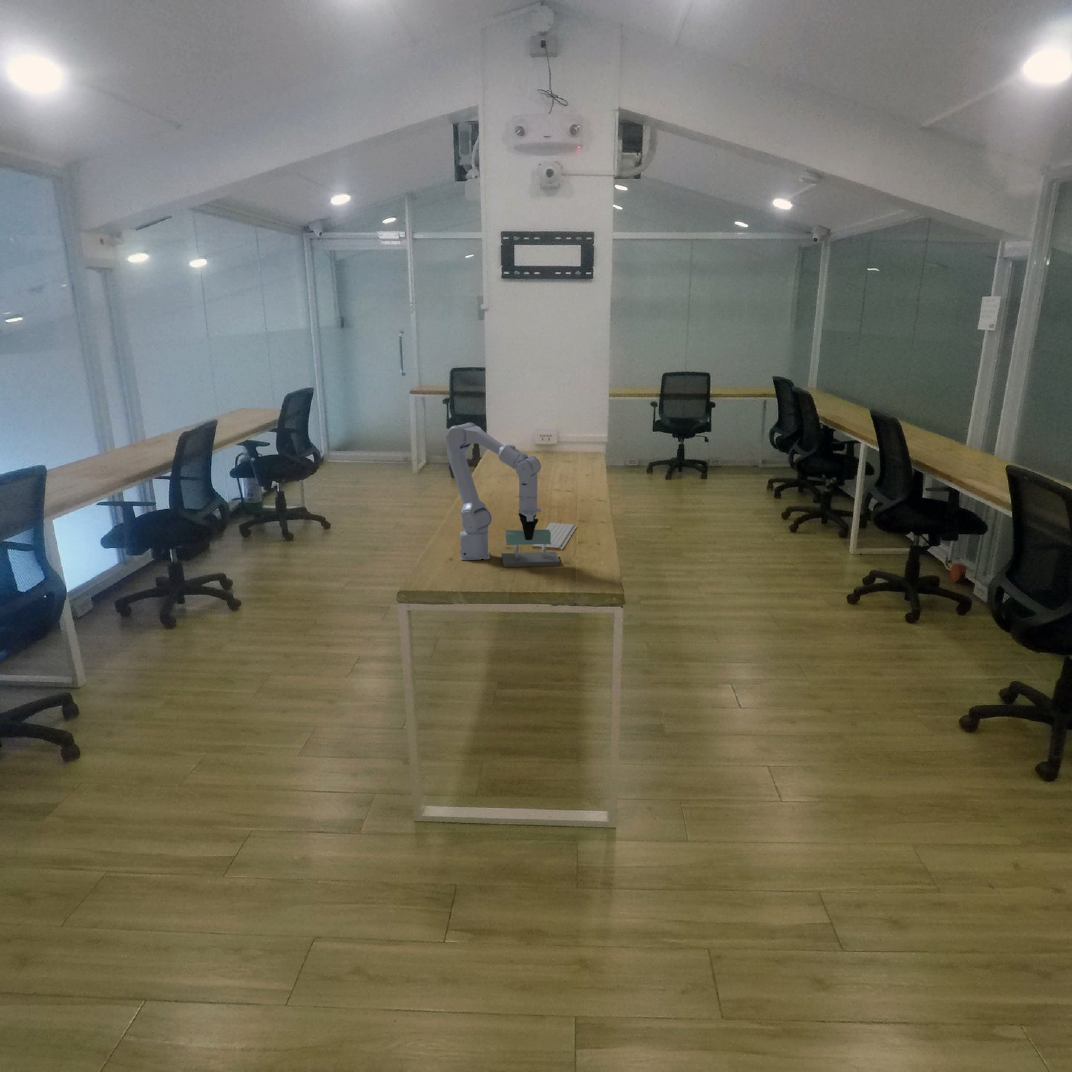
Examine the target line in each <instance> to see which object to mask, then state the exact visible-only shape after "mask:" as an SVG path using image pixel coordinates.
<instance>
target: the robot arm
mask: <svg viewBox="0 0 1072 1072" xmlns="http://www.w3.org/2000/svg"><path fill="white" fill-rule="evenodd" d="M445 440H446V443H447V445H446V456H447V458H448V461H449V465H450V467H451V471H452V473H453V474H452V475H453V478H454V480H455V483H456V486H457V490H458V492H459V495H460V498H461V501H462V508H461V511H460V515H461V526H462V528H463V530H462V531H460V533H459V535H460V537H459V539H460V547H459V554H460V560H461V561H475V560H476V561H478V560H479V561H480V560H481V559H484V560H490V559H491V556H490V551H489V525H491V523H492V518H493V517H492V514H491V512H490V511H489V510H488V508H487V507H486V503H484V502H483V501H481V500H480V497H479V494H478V492H477V489H476V485H475V482H474V478H473V476H472V473H471V469H470V467H469V463H468V460H467V458H466V453H467V451H468V449H469V448H470V446H471V445H472V444H473V445H474V444H478V445H479V446H482V447H483V448H485V449H487V450H489V451H491V452H492V453H494V454H496V455H497V457H498V459H499V461H501V462H502V463H504V464H505V465H507V466H508V467H510V468H512V469H513V470H515V472H516V475H517V476H518V486H519V487H518V488H519V489H518V505H519V506H518V517H519V521H520V523H521V526H522V530H524V535H525V539H526V540H532V538H533V534H534V530H536V529H535V528H536V526H537V524H538V521H539V519H538V518H536V516H537V514H538V513H541V512H542V509H541V508H538V475H539V473H540V471H541V468H542V466H541V462H540V460H539V459H538V458H537V457H536V456H533V455H530V456H528V454H527V453H526V452H525V453H523V452H522V451H520V450H518V449H517V448H516V446H515V445H514V444H506V445H504V444H503V443H501V442H500V441H498V439H497V440H496V439H495V438H494V437H493V436H491V435H490V434H488V433H487V432H485V431H484V430H483V429H482V428H481V426H478V425H476V424H475V423H473V422H466V423H463V424H458V425H453V426H450V428H449V429H448V430H447V432H446V434H445Z"/></svg>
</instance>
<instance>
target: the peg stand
mask: <svg viewBox="0 0 1072 1072" xmlns="http://www.w3.org/2000/svg"><path fill="white" fill-rule="evenodd" d="M513 546H514V547H513V548H514V550H513V551H514V552H509V553H508V552H507V553H506V552H505V553H501V559H502V560H501V561H502V565H504V566H503V568H525V566H533V567H559V566H560V558H559V557H558V553H557V552H556V551H547V549H546V546H545V544H542V549H541V551H539V552H538V551H537V552H535V551H534V552H533V551H532V552H520V551H519V549H520V548H519V545H513ZM522 566H524V567H522Z"/></svg>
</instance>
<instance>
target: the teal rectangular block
mask: <svg viewBox="0 0 1072 1072" xmlns="http://www.w3.org/2000/svg"><path fill="white" fill-rule="evenodd" d="M505 543H506V546H514V545H518V546H520V545H521V546H523V545H534V544H551V533H550V530H549V529H547V530H545V529H534V534H533V538H532V540H526V539H525V535H524V530H523V529H511V530H510V529H509V530H508V529H507V530H505Z"/></svg>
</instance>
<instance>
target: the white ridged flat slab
mask: <svg viewBox="0 0 1072 1072" xmlns="http://www.w3.org/2000/svg"><path fill="white" fill-rule="evenodd" d="M577 528H578V525H575V523H572V524H571V523H557V522H550V523H549V524H548V525H547V526H546V528H545V529H544V530H547V529H549V530H550V533H551V544H545V546H546V550H550V549H558V550H557V551H564V550H565V548H566V545H567V544H568V542H569V541H570V539H571V537H572V536H573V534H574V533H575V531H576V530H577ZM575 529H576V530H575ZM573 532H574V533H573ZM571 535H572V536H571ZM536 548H541V549H540V550H542V544H532V549H536Z"/></svg>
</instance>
